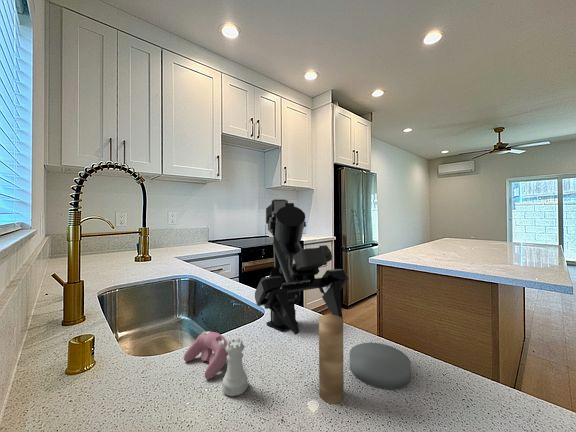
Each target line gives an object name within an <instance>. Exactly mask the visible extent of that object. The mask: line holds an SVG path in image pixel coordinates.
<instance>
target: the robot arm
mask: <svg viewBox="0 0 576 432" xmlns="http://www.w3.org/2000/svg"><path fill="white" fill-rule="evenodd" d="M306 223H307V222H306V213H305V212H304V211H303V210H302V209H301V208H300V207H297V206H295V203H294V202H289V200H288V199H286V198H285V199H284V198H283V199H281V198H280V199H278V198H277V199H273V200H272V199H271V204H270V205H268V206H267V207H266V208H265V224H266V225H267V230H268V232H269V233H270V234H271V235H272V246H273V247H272V248H273V262H274V263H273V264H274V265H273V266H274V267H272V268H271V270H270V274H269V276H266V277H262V278H261V279H260V280H259V283H258V284H257V287H256V289H255V291H254V299H255V305H256V306H258V307H261V306H263V307H264V309H265V310H268V309H269V310H270V320H269V321H267V322H266V323H265V324H266V325H267V326H269V327H271V328H273V329H275V330H278V331H281V332H285V331H288V330H289V329H290V331H291V332H292V333H293V334H294V335H295V336H296V335H298V334H299V333H300V327H299V321H297V320H296V319H297V318H296V309H295V308H296V307H295V305H300V304H299V303H301V291H308V290H314V289H319V291H320V293H321V294H323V295H322V297H321V298H322V300H323V301H324V303H325V305H326V307H327V308H328V310H329V312H330V313H331V315H336V316H339V317H341V318H342V319H343V320H344V318H343V310H342V309H343V308H342V302H341V290H342V288H343V287H344V286H345V285H346V283H347V282H348V280H349V279H350V278H349V276H348V274H347V273H346V271H345V270H344V269H343V268H342V269H341V268H335V269H328V270H326V271H325V273H324V274H323V275H322V277H317V278H316V277H315V275H318V274H319V273H320V269H319V268H321V267H323V266H327V265H328V263H329V262H331V261H332V259H333V255H332V251H331V249H330V248H329V246H328V245H326V244H325V245H319V246H318V247H309V248H302V245H301V243H300V242H301V241H302V239H303V238H302V237H303V233H304V228H306V227H307V224H306Z"/></svg>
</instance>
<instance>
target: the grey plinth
mask: <svg viewBox="0 0 576 432" xmlns="http://www.w3.org/2000/svg"><path fill="white" fill-rule="evenodd" d="M411 367H412V363H411V360H410V358H409V357H408V355H407V354H406V353H405V352H403V351H402V350H400V349H397V348H396V347H394V346H390V345H388V344H384V343H378V342H362V343H359V344H356V345H354V346H353V347H351V349H350V351H349V370H350V371H351V373H352V374H353V376H354V377H355V378H356V379H357V380H359V381H361V382H362V383H365V385H369V386H371V387H374V388H377V389H383V390H398V389H402V388H404V387H406V386H407V385H409V384H410V382H411V379H412V368H411Z"/></svg>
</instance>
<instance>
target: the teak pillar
mask: <svg viewBox="0 0 576 432" xmlns="http://www.w3.org/2000/svg"><path fill="white" fill-rule="evenodd" d="M344 373H345V372H344V318H343V319H342V318H341V317H339V316H336V315H332V314H324V315H321V316H319V318H318V394H319V397H320V399H321V400H322V401H323V402H325V403H327V404H339V403H341V402H342V401H343V400H344V397H345V395H344V393H345V391H344V390H345V388H344V387H345V386H344V384H345V383H344V376H345V375H344Z"/></svg>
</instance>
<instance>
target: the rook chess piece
mask: <svg viewBox="0 0 576 432" xmlns="http://www.w3.org/2000/svg"><path fill="white" fill-rule="evenodd" d="M227 342H228V343H227V346H226V348H225V350H226V351H227V353H228V356H227V360H226V361H227V366H226V372H225V374H224V377H223V378H222V382H221V384H222V385H221V391H222V392H223V393H224V394H225V395H226V396H228V397H238V396H240V395H242V394H244V393H245V391H246V390H247V389H248V387H249V382H248V378H249V377H248V375H247V374H246V371H245V370H244V365H243V364H244V363H243V357H244V354H243V351H244V350H245V348H246V347H245V344H244V343H243V340H242V339H240V338H237V339H236V341H235V338H232V339H231V340H228V341H227Z"/></svg>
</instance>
